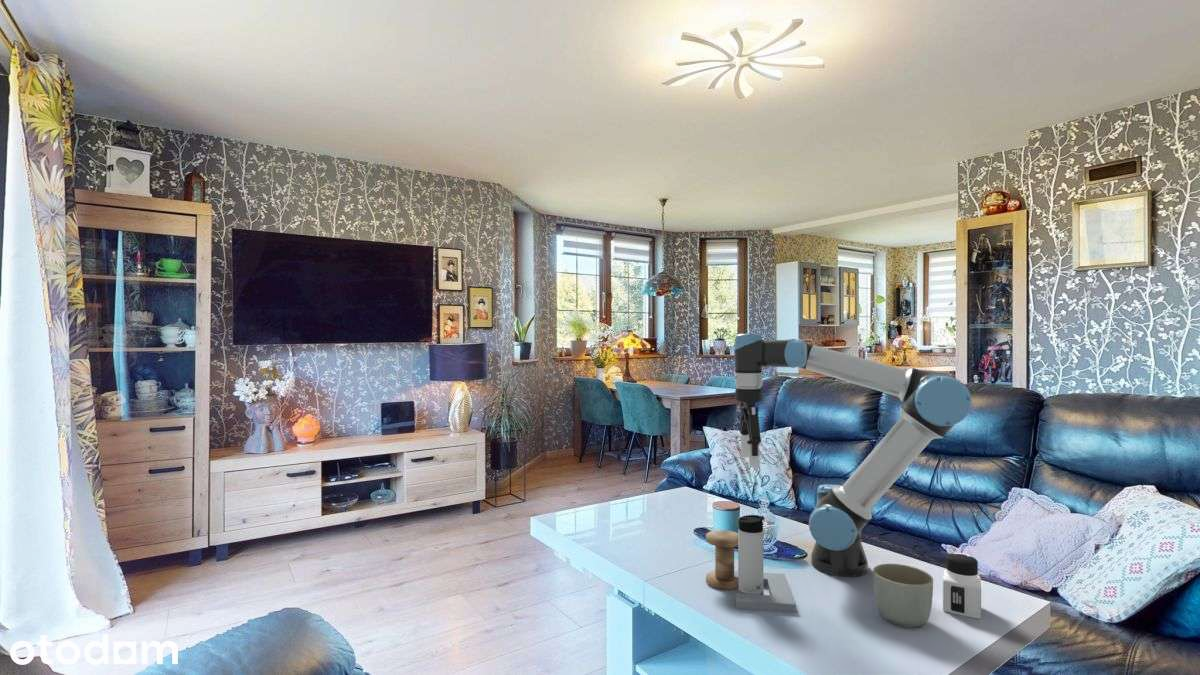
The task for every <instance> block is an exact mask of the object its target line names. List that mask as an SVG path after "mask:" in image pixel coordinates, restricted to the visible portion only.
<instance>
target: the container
mask: <svg viewBox="0 0 1200 675" xmlns="http://www.w3.org/2000/svg"><path fill="white" fill-rule="evenodd" d="M945 557H946V558H945V569H944V570H943V577H942V611H943V612H945V613H949V614H955V615H959V616H963V617H968V618H974V619H976V620H977V619H978V620H981V619H982V580H981V575H979V561H978V560H977V559H976V558H975V557H974V556H972V555H969V554H967V553H962V552H952V553H948V554H947V555H946V556H945Z"/></svg>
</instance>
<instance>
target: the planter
mask: <svg viewBox="0 0 1200 675" xmlns="http://www.w3.org/2000/svg"><path fill="white" fill-rule="evenodd" d="M872 573H873V589H874V599H875V605H876V608H877V611H878V612H879V614H880V615H881V616H882V617H883V618H884V619H885V620H887V621H888V622H890V623H892V624H893V625H896V626H899V627H902V628H917V627H920V626H923V625H925V624H926V623H927V622H928V621H929V619H930V617H931V612H932V605H933V594H934V592H933V591H934V578H933V576H932V575H931V574H930V573H929V572H926V571H925V570H922V569H920V568H917V567H914V566H910V565H906V564H899V563H883V564H877V565H876V566H875V567H874V568H873V572H872Z"/></svg>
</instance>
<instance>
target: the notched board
mask: <svg viewBox="0 0 1200 675" xmlns="http://www.w3.org/2000/svg"><path fill="white" fill-rule="evenodd" d="M734 580H738V570H734ZM763 587H767V590H768V593H769V595H767V594H763V595H756V594H740V593H739V592H737V593H736V592H735V593H734V602H735V609H737V610H738V609H740V610H750V611H751V610H753V611H764V612H765V611H766V612H767V611H768V612H779V613H780V612H781V613H794V614H795V613H797V603H796V601H795V598H794V595H793V593H792V590H791V587H790V585H789V583H788V580H787V577H786V574H785V573H777V572H776V573H774V572H763Z"/></svg>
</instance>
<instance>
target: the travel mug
mask: <svg viewBox="0 0 1200 675" xmlns="http://www.w3.org/2000/svg"><path fill="white" fill-rule="evenodd" d="M763 521H766V519H765V516H763V515H758V514H757V515H756V514H748V515H747V514H746V515H742V516H740V517H739V519H738V522H737V523H738V526H737V527H738V532H737V533H738V547H737V550H738V551H737V552H738V553H737V554H738V561H737V562H738V563H737V565H738V567H737V568H738V569H737V571H738V585H739V587H738V589H737V590H738V592H737V593H740V594H756V595H764V586H763V573H764V523H763Z"/></svg>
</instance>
